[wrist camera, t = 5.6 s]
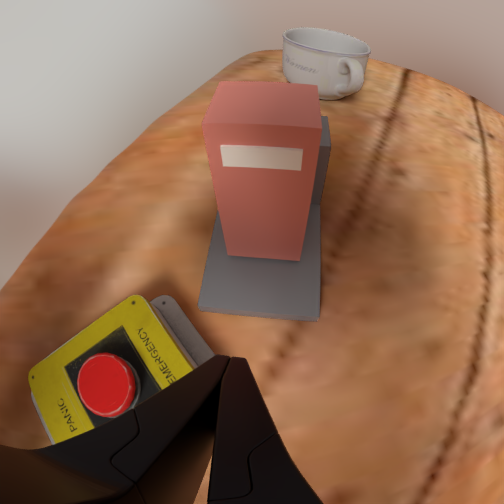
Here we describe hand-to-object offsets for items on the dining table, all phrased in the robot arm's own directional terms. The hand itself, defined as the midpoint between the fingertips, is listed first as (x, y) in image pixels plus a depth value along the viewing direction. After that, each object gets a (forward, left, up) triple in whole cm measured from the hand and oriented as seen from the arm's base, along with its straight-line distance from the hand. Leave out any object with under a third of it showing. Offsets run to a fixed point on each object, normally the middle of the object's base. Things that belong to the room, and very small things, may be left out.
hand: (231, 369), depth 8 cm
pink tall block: (+7, -8, -10) cm, 15 cm away
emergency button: (+5, +7, -12) cm, 15 cm away
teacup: (+18, -30, -11) cm, 37 cm away
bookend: (+8, -9, -11) cm, 16 cm away
